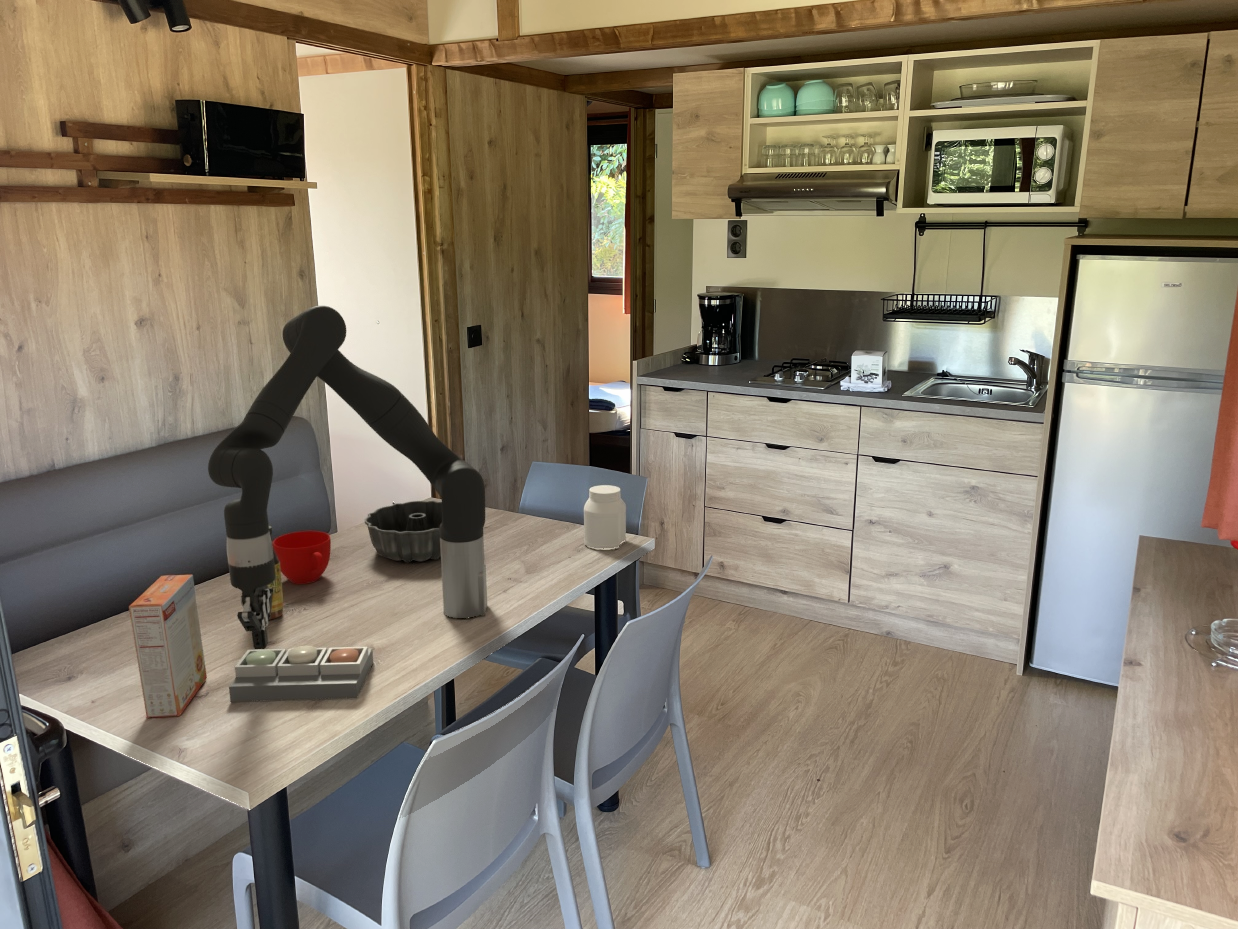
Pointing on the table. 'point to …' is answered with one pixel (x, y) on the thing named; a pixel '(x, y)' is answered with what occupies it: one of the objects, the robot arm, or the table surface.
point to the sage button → (261, 658)
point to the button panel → (300, 677)
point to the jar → (604, 517)
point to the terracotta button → (344, 656)
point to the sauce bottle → (276, 587)
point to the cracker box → (168, 645)
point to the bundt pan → (407, 530)
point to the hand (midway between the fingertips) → (261, 647)
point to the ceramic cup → (303, 555)
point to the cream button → (302, 655)
